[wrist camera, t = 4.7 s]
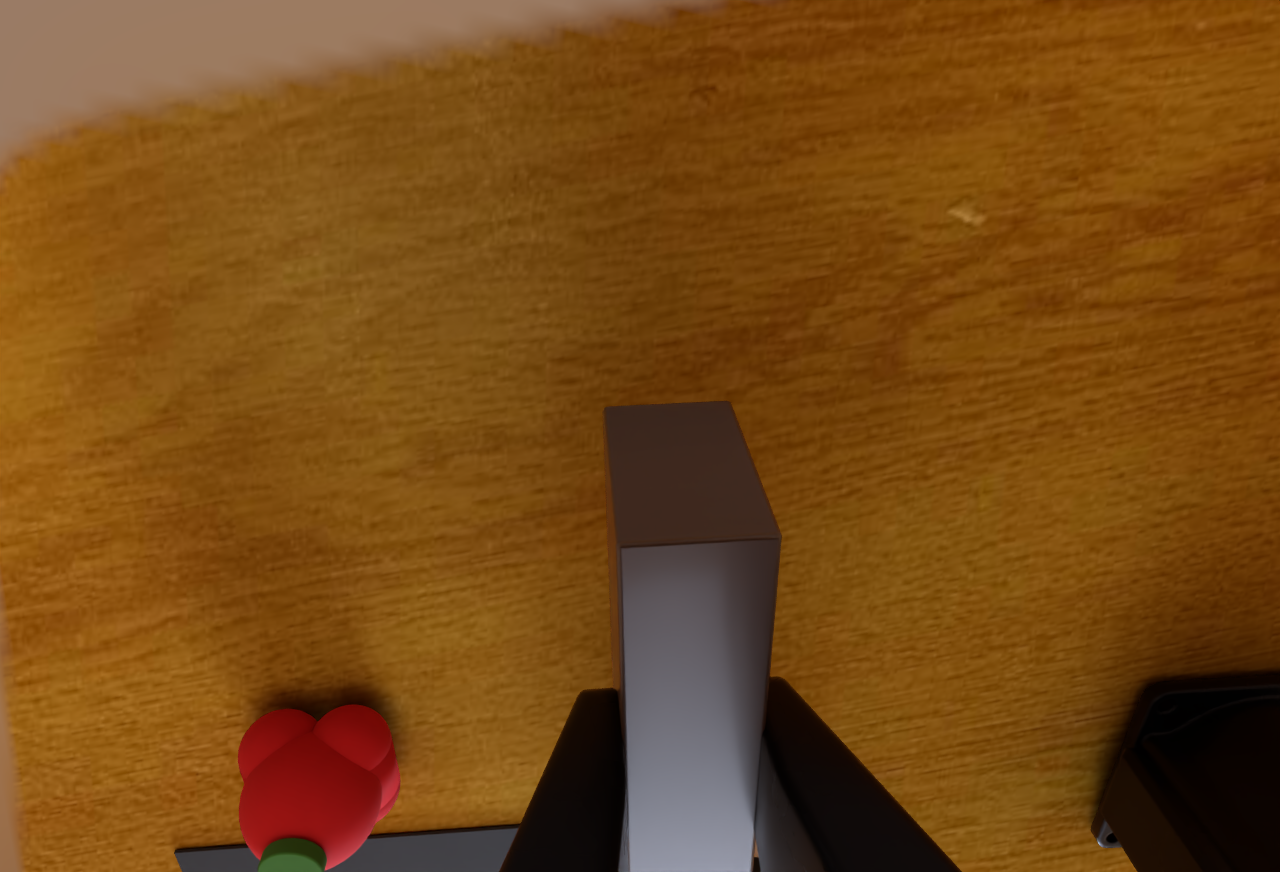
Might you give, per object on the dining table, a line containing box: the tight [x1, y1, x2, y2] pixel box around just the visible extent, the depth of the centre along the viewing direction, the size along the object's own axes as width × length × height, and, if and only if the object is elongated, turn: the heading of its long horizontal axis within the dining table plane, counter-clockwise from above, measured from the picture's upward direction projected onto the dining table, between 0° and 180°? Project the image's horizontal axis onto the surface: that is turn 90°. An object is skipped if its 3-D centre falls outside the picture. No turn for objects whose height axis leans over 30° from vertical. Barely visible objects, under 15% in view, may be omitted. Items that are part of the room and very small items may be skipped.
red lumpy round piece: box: [238, 705, 400, 872], centre depth 20 cm, size 4×3×4 cm
